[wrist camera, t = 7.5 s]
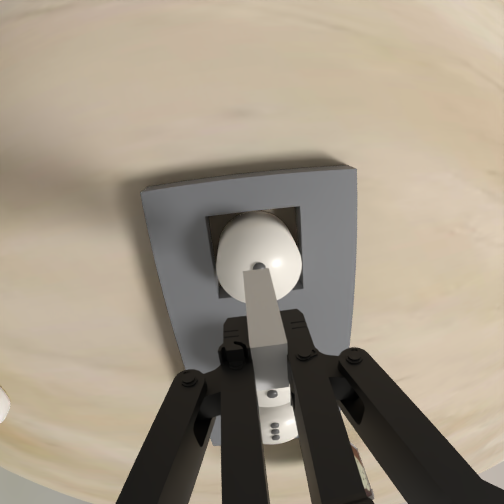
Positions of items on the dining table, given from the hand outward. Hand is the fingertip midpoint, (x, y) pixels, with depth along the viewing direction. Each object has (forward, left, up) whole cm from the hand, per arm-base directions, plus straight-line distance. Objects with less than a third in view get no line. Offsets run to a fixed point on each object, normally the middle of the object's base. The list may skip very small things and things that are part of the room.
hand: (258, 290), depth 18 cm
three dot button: (+20, 0, -8) cm, 22 cm away
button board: (+10, 0, -8) cm, 13 cm away
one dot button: (+1, 0, -8) cm, 8 cm away
